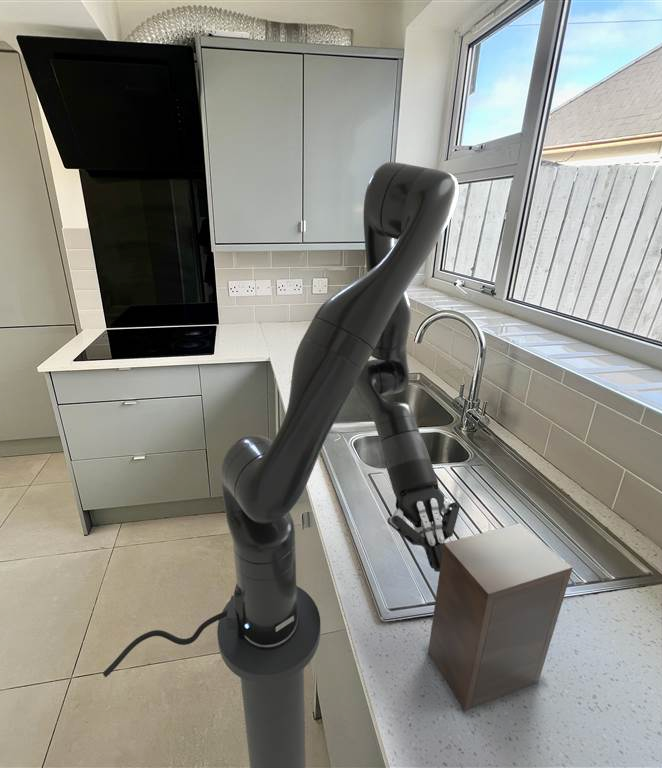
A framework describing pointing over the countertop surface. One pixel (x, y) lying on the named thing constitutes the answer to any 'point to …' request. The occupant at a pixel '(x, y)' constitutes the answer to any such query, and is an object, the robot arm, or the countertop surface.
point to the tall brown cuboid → (495, 612)
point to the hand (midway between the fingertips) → (442, 570)
